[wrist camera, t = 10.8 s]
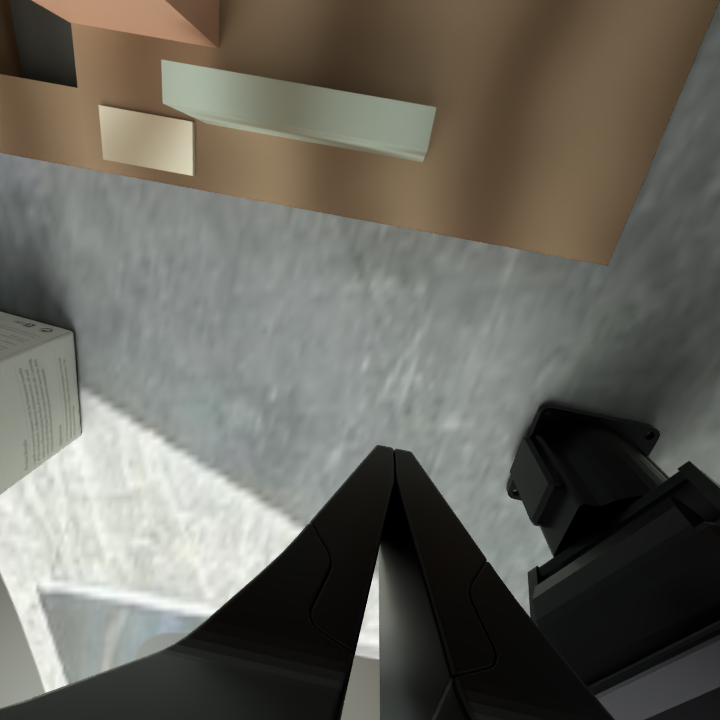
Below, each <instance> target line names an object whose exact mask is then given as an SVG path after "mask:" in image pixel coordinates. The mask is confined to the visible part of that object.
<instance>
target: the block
mask: <svg viewBox="0 0 720 720" xmlns="http://www.w3.org/2000/svg"><path fill="white" fill-rule="evenodd" d="M32 1H34V2H35V3H37V4H39V5H41V6H42V7H44V8H46V9H47V10H49V11H51V12H53V13H54V14H56V15H58V16H60V17H61V18H63V19H65V20H66V21H68V22H71V23H76V24H82V25H88V26H93V27H99V28H105V29H110V30H116V31H122V32H127V33H133V34H139V35H145V36H150V37H156V38H162V39H167V40H173V41H179V42H184V43H190V44H196V45H201V46H207V47H213V48H218V49H219V4H220V0H32Z"/></svg>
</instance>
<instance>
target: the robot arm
mask: <svg viewBox="0 0 720 720" xmlns="http://www.w3.org/2000/svg"><path fill="white" fill-rule="evenodd" d="M547 412H551V414H550V415H549V416H545V414H546V413H547ZM648 432H650V433H649V434H648V435H646V436H645V434H646V433H648ZM659 436H660V433H659V431H658V430H657V429H656V428H655V427H654V426H652V425H650V424H645V423H640V422H635V421H630V420H625V419H620V418H615V417H610V416H605V415H600V414H595V413H590V412H585V411H580V410H575V409H570V408H565V407H560V406H555V405H550V404H546V405H543V406H541V407H540V408H539V409H538V411H537V414H536V416H535V419H534V421H533V423H532V426H531V428H530V431H529V433H528V435H527V436H526V437H524V438H523V440H522V442H521V445H520V447H519V450H518V452H517V455H516V457H515V460H514V462H513V465H512V467H511V469H510V473H511V477H510V479H509V482H508V484H507V487H506V490H507V492H508V495H509V496H510V497H511V498H513V499H517V500H522V502H523V504H524V506H525V509H526V511H527V514H528V516H529V518H530V520H531V522H532V523H533V525H535V526H540V528H541V530H542V532H543V535H544V537H545V539H546V541H547V544H548V546H549V548H550V550H551V553H552V555H553V557H554V558H552V559H551V560H549V561H548V562H547V563H545V564H544V565H542V566H541V567H538V566H536V567H535V568H533V569H532V570H531V571H529V572H528V585H529V601H530V617H531V618H530V617H529V615H528V614H527V613H526V612H525V611H524V609H523V608H522V607H521V606H520V604H519V603H518V602H517V600H516V599H515V598H514V596H513V595H512V594H511V592H510V591H509V589H508V588H507V587H506V585H505V584H504V583H503V581H502V580H501V579H500V577H499V576H498V574H497V573H496V572H495V570H494V569H493V567H492V566H491V564H490V563H489V562H486V561H487V560H486V558H485V556H484V555H483V553H482V552H481V550H480V549H479V548H478V546H477V545H476V543H475V542H474V540H473V539H472V538H471V536H470V535H469V533H468V532H467V530H466V529H465V528H464V526H463V525H462V523H461V522H460V520H459V519H458V518H457V516H456V515H455V513H454V512H453V510H452V509H451V508H450V506H449V505H448V503H447V502H446V501H445V499H444V498H443V496H442V495H441V493H440V492H439V491H438V489H437V488H436V486H435V485H434V483H433V482H432V481H431V479H430V478H429V476H428V475H427V473H426V472H425V471H424V469H423V468H422V466H421V465H420V463H419V462H418V461H417V459H416V458H415V456H414V455H413V454H412V452H410V451H406V450H401V449H395V450H393V448H391V447H386V446H381V445H377V446H376V447H375V448H374V449H373V450H372V451H371V452H370V453H369V455H368V456H367V457H366V458H365V459H364V460H363V462H362V463H361V464H360V465H359V466H358V467H357V468H356V470H355V471H354V472H353V473H352V474H351V475H350V477H349V478H348V479H347V480H346V481H345V482H344V483H343V485H342V486H341V487H340V488H339V489H338V490H337V492H336V493H335V494H334V495H333V496H332V497H331V498H330V500H329V501H328V502H327V503H326V504H325V505H324V507H323V508H322V509H321V510H320V511H319V512H318V513H317V515H316V516H315V517H314V518H313V519H312V520H311V522H310V524H308V525H307V526H306V527H305V528H304V529H303V530H302V532H301V533H300V534H299V535H298V536H297V537H296V538H295V539H294V540H293V542H292V543H291V544H290V545H289V546H288V547H287V548H286V549H285V550H284V551H283V552H282V553H281V554H280V555H279V556H278V557H277V558H276V559H275V560H274V561H273V562H271V563H270V564H269V565H268V566H267V567H266V568H265V569H264V570H263V571H262V572H261V573H260V574H258V575H257V576H256V577H255V578H254V579H253V580H252V581H250V582H249V583H248V584H247V585H246V586H245V587H244V588H242V589H241V590H240V591H239V592H238V593H237V594H236V595H234V596H233V597H232V598H231V599H230V600H229V601H228V602H226V603H225V604H224V605H223V606H222V607H221V608H220V609H218V610H217V611H216V612H215V613H214V614H213V615H212V616H210V617H209V618H208V619H207V620H206V621H205V622H203V623H202V624H201V625H200V626H199V627H197V628H196V629H195V630H194V631H192V632H191V633H190V634H188V635H187V636H185V637H184V638H182V639H181V640H179V641H178V642H176V643H175V644H173V645H171V646H169V647H167V648H165V649H164V650H162V651H159V652H157V653H154V654H151V655H148V656H146V657H143V658H140V659H137V660H135V661H132V662H129V663H126V664H124V665H121V666H118V667H115V668H113V669H110V670H107V671H105V672H102V673H99V674H96V675H94V676H91V677H88V678H85V679H83V680H80V681H77V682H74V683H72V684H69V685H66V686H64V687H61V688H58V689H55V690H53V691H50V692H47V693H44V694H42V695H39V696H36V697H34V698H31V699H28V700H25V701H23V702H19V703H16V704H13V705H10V706H6V707H3V708H0V720H341V715H342V710H343V705H344V700H345V695H346V691H347V686H348V681H349V677H350V673H351V669H352V664H353V659H354V655H355V651H356V647H357V643H358V638H359V634H360V630H361V625H362V621H363V617H364V612H365V608H366V604H367V599H368V595H369V591H370V586H371V582H372V578H373V573H374V569H375V565H376V560H377V556H378V552H379V654H380V720H720V485H719V484H717V483H716V482H715V481H714V480H712V479H711V478H710V477H709V476H707V475H706V474H705V473H704V472H702V471H701V470H700V469H699V468H697V467H696V466H695V465H694V464H693V463H691V462H690V461H688V462H687V463H685V464H684V465H682V466H681V467H679V468H678V470H679V472H677V473H676V474H675V475H673V476H672V477H670V478H669V477H668V476H667V475H666V474H665V473H664V472H663V471H662V470H661V469H660V468H659V467H658V466H657V465H656V464H655V463H654V462H653V461H652V460H651V459H650V458H649V457H648V456H649V454H650V452H651V451H652V449H653V447H654V445H655V444H656V442H657V440H658V438H659ZM515 489H517V490H518V491H513V490H515Z"/></svg>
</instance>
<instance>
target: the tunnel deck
mask: <svg viewBox="0 0 720 720" xmlns="http://www.w3.org/2000/svg"><path fill="white" fill-rule="evenodd" d="M719 1H720V0H220V4H219V49H218V48H213V47H207V46H201V45H196V44H190V43H184V42H179V41H173V40H167V39H162V38H156V37H150V36H145V35H139V34H133V33H127V32H122V31H116V30H110V29H105V28H99V27H93V26H88V25H82V24H76V23H71V22H68V21H66V20H65V19H63V18H61V17H60V16H58V15H56V14H54V13H53V12H51V11H49V10H47V9H46V8H44V7H42V6H41V5H39V4H37V3H35V2H34V1H32V0H0V153H5V154H10V155H15V156H21V157H26V158H31V159H37V160H42V161H48V162H53V163H58V164H64V165H69V166H74V167H80V168H85V169H91V170H96V171H101V172H107V173H112V174H118V175H123V176H128V177H134V178H139V179H144V180H150V181H155V182H161V183H166V184H171V185H177V186H182V187H187V188H193V189H198V190H204V191H209V192H214V193H220V194H225V195H231V196H236V197H241V198H247V199H252V200H257V201H263V202H268V203H274V204H279V205H284V206H290V207H295V208H300V209H306V210H311V211H317V212H322V213H327V214H333V215H338V216H344V217H349V218H354V219H360V220H365V221H370V222H376V223H381V224H387V225H392V226H397V227H403V228H408V229H413V230H419V231H424V232H430V233H435V234H440V235H446V236H451V237H457V238H462V239H467V240H473V241H478V242H483V243H489V244H494V245H500V246H505V247H510V248H516V249H521V250H526V251H532V252H537V253H543V254H548V255H553V256H559V257H564V258H570V259H575V260H580V261H586V262H591V263H596V264H602V265H607V266H608V264H609V262H610V259H611V257H612V255H613V252H614V250H615V248H616V245H617V243H618V240H619V238H620V236H621V233H622V231H623V229H624V226H625V224H626V221H627V219H628V217H629V214H630V212H631V210H632V207H633V205H634V203H635V200H636V198H637V195H638V193H639V191H640V188H641V186H642V184H643V181H644V179H645V176H646V174H647V172H648V169H649V167H650V165H651V162H652V160H653V157H654V155H655V153H656V150H657V148H658V146H659V143H660V141H661V138H662V136H663V134H664V131H665V129H666V127H667V124H668V122H669V119H670V117H671V115H672V112H673V110H674V108H675V105H676V103H677V101H678V98H679V96H680V93H681V91H682V89H683V86H684V84H685V82H686V79H687V77H688V74H689V72H690V70H691V67H692V65H693V63H694V60H695V58H696V55H697V53H698V51H699V48H700V46H701V44H702V41H703V39H704V36H705V34H706V32H707V29H708V27H709V25H710V22H711V20H712V18H713V15H714V13H715V10H716V8H717V6H718V3H719Z"/></svg>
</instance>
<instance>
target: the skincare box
mask: <svg viewBox="0 0 720 720" xmlns="http://www.w3.org/2000/svg"><path fill="white" fill-rule="evenodd" d="M79 436H81V426H80V414H79V401H78V388H77V375H76V361H75V349H74V335H73V332H72V331H70V330H67V329H63V328H59V327H55V326H52V325H48V324H45V323H41V322H37V321H34V320H30V319H26V318H23V317H19V316H15V315H11V314H8V313H4V312H0V494H2V493H3V492H4V491H6V490H7V489H8V488H10V487H11V486H12V485H14V484H15V483H17V482H18V481H19V480H21V479H22V478H23V477H25V476H26V475H28V474H29V473H30V472H32V471H33V470H34V469H36V468H37V467H38V466H40V465H41V464H42V463H44V462H45V461H46V460H48V459H49V458H51V457H52V456H53V455H55V454H56V453H58V452H59V451H60V450H61V449H63V448H64V447H66V446H67V445H68V444H70V443H71V442H72V441H74V440H75V439H76V438H78V437H79Z"/></svg>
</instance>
